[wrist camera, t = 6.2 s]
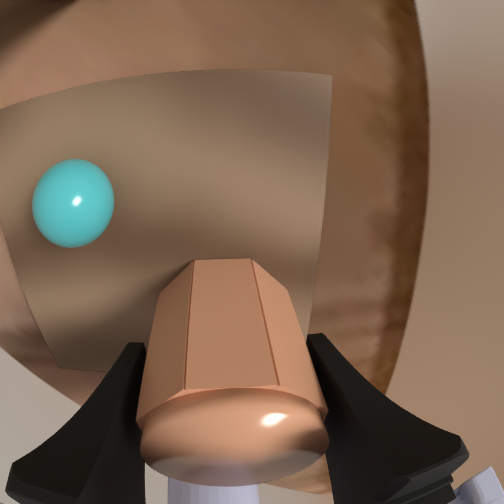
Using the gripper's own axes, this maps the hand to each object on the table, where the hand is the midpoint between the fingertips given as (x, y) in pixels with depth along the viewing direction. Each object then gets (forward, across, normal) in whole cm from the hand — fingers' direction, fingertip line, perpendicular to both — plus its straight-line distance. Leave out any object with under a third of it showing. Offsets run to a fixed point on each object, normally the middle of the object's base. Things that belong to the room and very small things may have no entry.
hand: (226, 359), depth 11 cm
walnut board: (+4, +3, -3) cm, 6 cm away
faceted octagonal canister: (+3, 0, 0) cm, 3 cm away
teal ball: (+1, +5, -6) cm, 8 cm away
